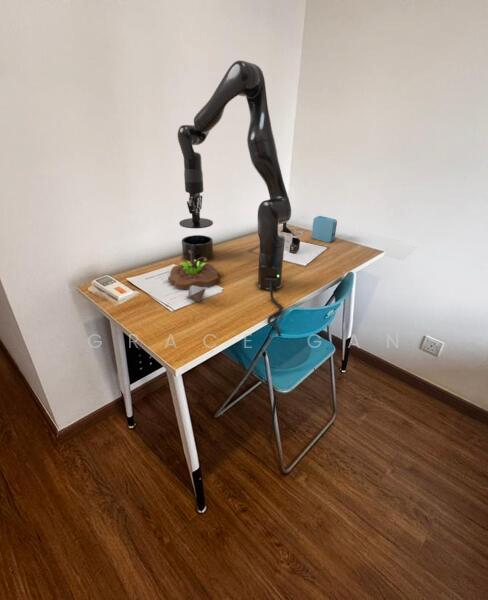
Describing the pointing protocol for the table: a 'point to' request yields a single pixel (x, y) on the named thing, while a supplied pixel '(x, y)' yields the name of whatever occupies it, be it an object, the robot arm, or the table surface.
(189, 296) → the paper boat
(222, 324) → the table surface
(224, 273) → the table surface
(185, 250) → the pot
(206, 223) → the lid
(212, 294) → the table surface
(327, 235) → the data package
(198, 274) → the plant
